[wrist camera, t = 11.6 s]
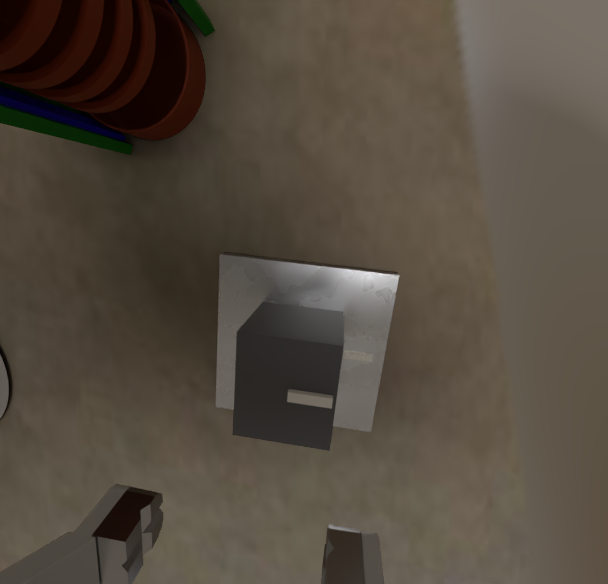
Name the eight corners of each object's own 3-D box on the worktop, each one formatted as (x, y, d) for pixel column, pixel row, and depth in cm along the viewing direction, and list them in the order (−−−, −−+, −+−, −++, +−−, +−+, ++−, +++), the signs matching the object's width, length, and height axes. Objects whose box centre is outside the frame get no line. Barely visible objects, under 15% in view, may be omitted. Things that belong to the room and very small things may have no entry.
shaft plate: (220, 399, 26) (195, 438, 21) (224, 252, 22) (196, 262, 18) (369, 423, 24) (375, 469, 20) (396, 272, 21) (410, 288, 17)
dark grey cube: (262, 301, 22) (234, 333, 16) (343, 311, 21) (343, 348, 16) (257, 383, 24) (230, 438, 18) (332, 394, 23) (329, 454, 17)
